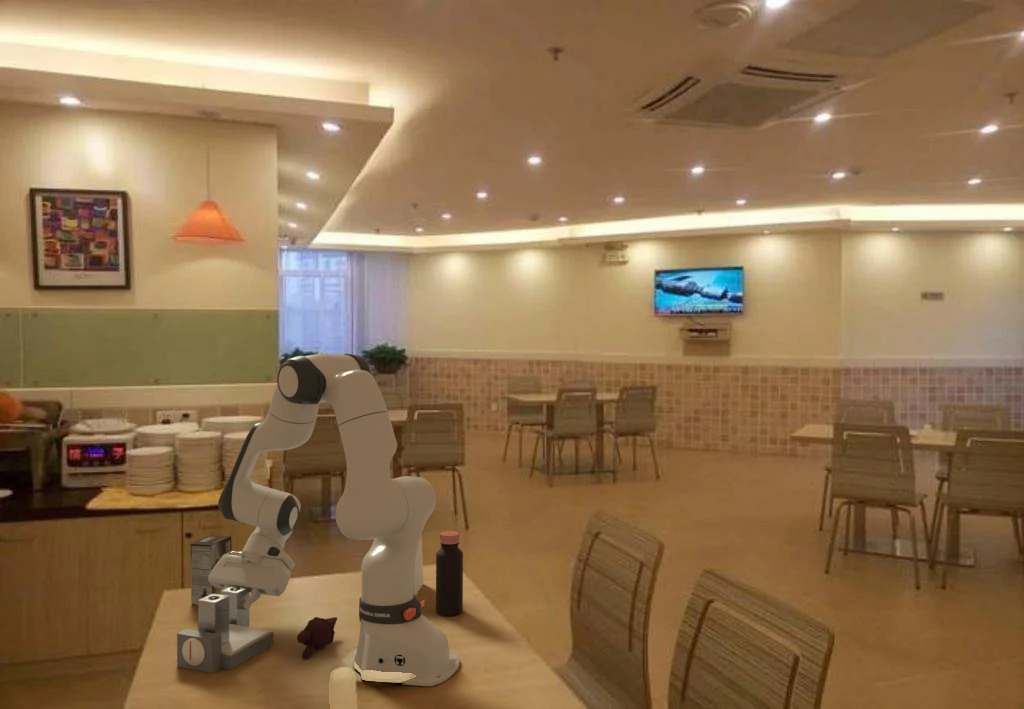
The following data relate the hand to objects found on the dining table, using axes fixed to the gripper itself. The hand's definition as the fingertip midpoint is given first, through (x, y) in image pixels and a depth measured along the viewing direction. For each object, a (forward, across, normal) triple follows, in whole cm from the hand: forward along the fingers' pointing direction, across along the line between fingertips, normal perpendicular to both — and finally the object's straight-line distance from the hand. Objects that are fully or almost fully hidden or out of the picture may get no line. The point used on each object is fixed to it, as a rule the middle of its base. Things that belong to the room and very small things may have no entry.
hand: (233, 607), depth 176 cm
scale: (+12, +6, -4) cm, 14 cm away
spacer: (+4, 0, +5) cm, 6 cm away
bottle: (-17, +42, +25) cm, 52 cm away
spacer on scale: (+11, +6, -8) cm, 15 cm away
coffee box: (-7, -20, +15) cm, 26 cm away
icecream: (+5, +24, +4) cm, 24 cm away
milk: (-24, +22, +32) cm, 46 cm away
